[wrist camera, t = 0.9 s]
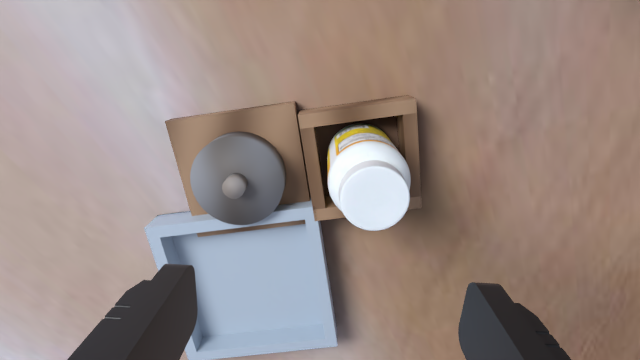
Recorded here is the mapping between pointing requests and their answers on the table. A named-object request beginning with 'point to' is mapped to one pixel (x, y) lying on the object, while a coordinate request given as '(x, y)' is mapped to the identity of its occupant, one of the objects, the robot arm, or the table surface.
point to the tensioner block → (274, 158)
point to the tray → (252, 282)
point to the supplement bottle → (368, 177)
